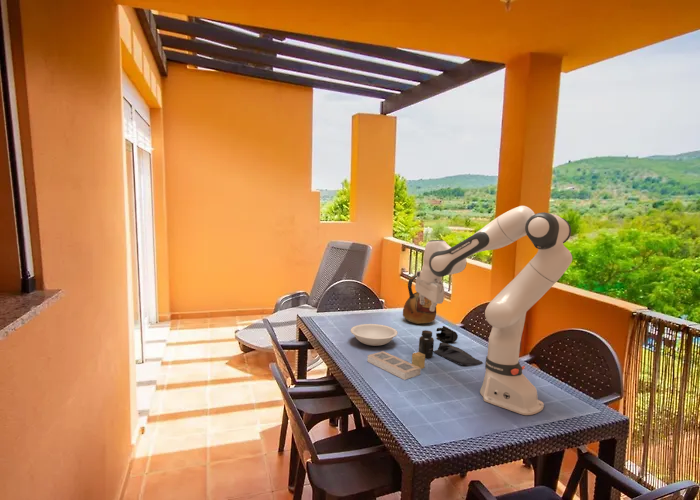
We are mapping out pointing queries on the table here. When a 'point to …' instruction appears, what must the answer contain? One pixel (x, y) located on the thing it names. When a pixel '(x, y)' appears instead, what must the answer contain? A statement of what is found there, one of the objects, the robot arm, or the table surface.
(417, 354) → the golden yellow block
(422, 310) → the ceramic pitcher
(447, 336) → the end cap
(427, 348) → the supplement bottle
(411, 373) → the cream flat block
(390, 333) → the soup bowl
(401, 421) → the table surface
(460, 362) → the dark slate chunk
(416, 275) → the robot arm
